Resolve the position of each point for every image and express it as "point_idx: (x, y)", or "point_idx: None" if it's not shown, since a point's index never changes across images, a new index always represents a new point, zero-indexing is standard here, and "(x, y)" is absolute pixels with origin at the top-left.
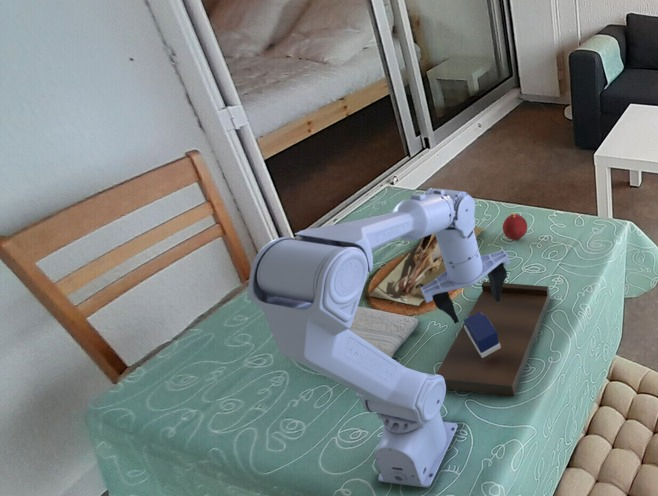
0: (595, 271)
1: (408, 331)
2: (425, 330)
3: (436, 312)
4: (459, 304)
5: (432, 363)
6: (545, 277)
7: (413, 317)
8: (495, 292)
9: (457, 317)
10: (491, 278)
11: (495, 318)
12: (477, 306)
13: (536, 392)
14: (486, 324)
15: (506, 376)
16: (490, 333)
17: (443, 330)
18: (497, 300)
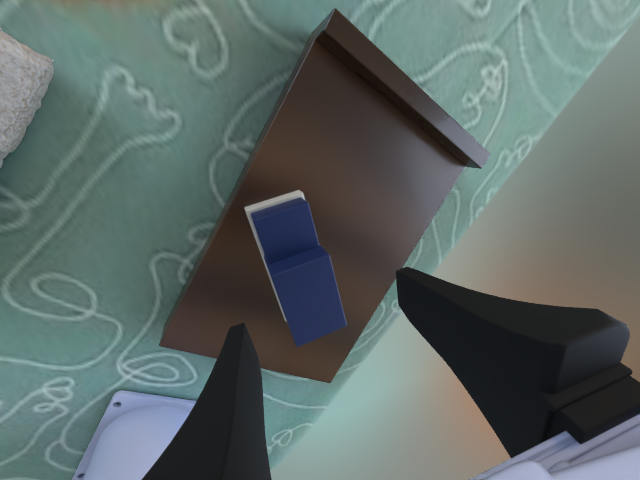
0: (561, 95)
1: (17, 121)
2: (96, 106)
3: (127, 23)
4: (218, 25)
5: (145, 252)
6: (474, 47)
7: (18, 46)
8: (433, 341)
9: (262, 391)
10: (493, 391)
11: (332, 196)
12: (289, 119)
13: (355, 360)
14: (326, 295)
15: (324, 364)
16: (331, 329)
17: (166, 135)
18: (406, 312)
